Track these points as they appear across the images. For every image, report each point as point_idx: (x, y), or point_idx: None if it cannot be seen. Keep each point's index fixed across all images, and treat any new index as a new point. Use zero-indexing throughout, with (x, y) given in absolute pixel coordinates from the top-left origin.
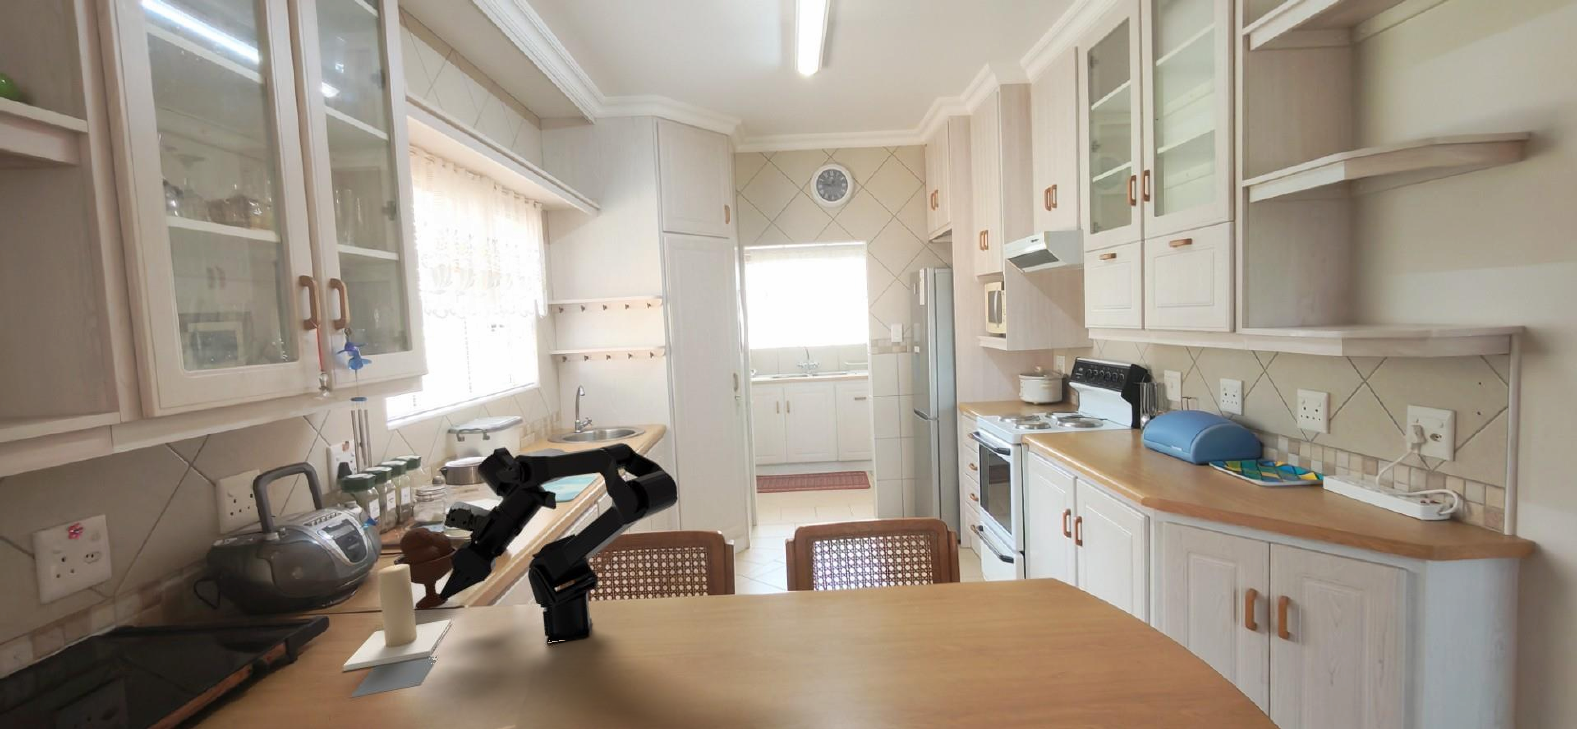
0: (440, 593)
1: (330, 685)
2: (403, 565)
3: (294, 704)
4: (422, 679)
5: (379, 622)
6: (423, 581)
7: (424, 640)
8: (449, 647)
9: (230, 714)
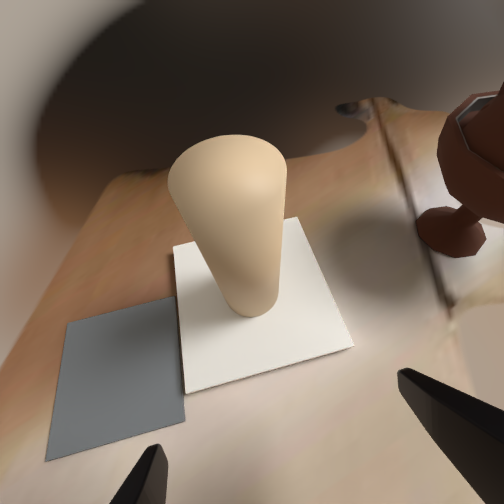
0: (134, 466)
1: (137, 259)
2: (267, 182)
3: (97, 247)
4: (70, 450)
5: (354, 193)
6: (456, 198)
7: (244, 343)
8: (232, 417)
9: (107, 191)
